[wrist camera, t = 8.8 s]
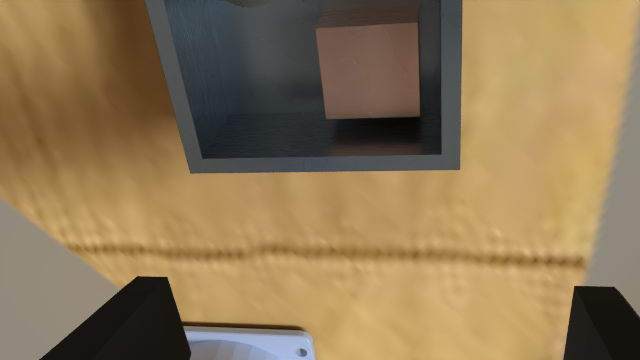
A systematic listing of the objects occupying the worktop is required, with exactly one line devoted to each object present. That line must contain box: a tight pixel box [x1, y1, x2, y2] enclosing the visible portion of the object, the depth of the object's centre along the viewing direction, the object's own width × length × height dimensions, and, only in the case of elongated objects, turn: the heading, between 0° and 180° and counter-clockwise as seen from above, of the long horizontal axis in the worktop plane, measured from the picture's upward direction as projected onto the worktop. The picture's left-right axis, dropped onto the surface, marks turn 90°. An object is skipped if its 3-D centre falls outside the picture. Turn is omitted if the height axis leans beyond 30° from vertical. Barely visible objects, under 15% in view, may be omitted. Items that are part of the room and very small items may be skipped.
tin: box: [145, 0, 462, 173], centre depth 17 cm, size 8×8×4 cm
